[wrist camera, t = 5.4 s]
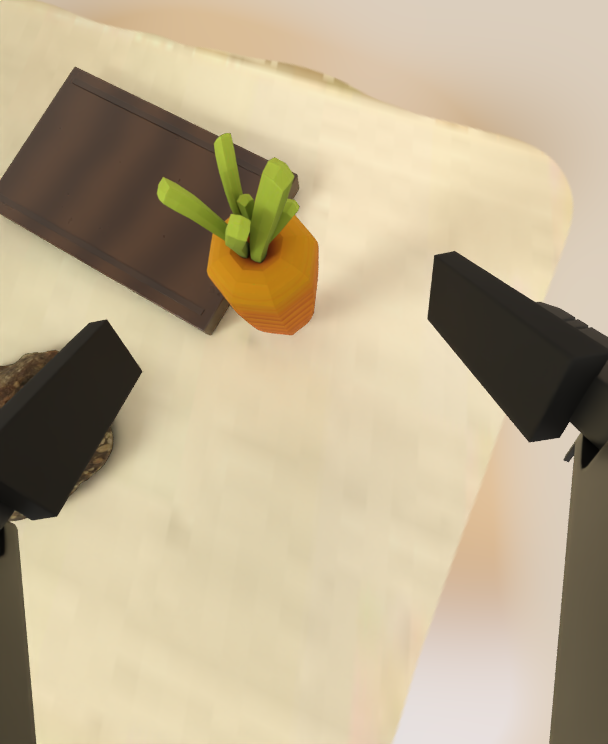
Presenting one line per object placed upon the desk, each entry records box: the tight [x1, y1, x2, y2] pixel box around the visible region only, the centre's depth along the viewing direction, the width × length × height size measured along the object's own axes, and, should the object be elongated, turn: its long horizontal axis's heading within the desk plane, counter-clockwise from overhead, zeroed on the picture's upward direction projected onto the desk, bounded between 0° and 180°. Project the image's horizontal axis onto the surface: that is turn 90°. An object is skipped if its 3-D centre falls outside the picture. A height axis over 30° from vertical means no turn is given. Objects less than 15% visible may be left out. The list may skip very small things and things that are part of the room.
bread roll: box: [0, 350, 113, 521], centre depth 21 cm, size 13×12×5 cm
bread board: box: [0, 67, 299, 335], centre depth 24 cm, size 22×14×2 cm, turn 60°
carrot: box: [157, 133, 318, 335], centre depth 15 cm, size 5×5×15 cm
